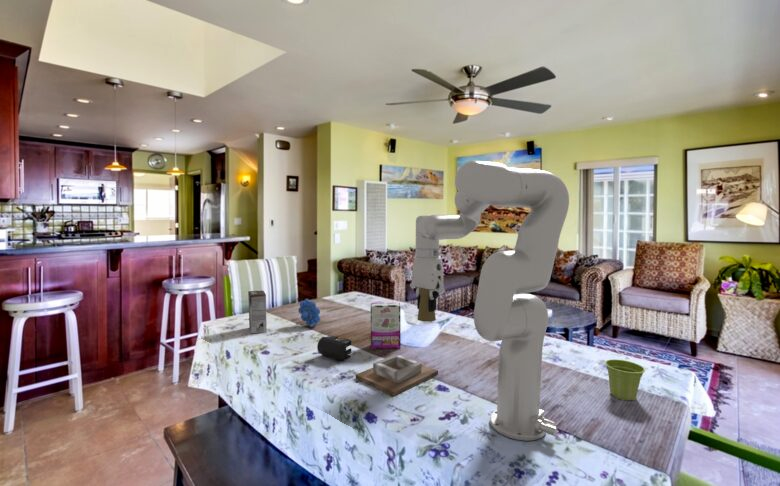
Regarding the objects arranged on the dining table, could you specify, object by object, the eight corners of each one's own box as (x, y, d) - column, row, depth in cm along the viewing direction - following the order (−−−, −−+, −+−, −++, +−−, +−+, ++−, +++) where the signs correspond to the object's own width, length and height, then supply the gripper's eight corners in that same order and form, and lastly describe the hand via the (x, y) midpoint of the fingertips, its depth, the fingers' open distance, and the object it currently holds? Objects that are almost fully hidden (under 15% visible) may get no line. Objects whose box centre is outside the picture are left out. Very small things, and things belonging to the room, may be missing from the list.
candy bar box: (399, 344, 147) (400, 302, 145) (400, 349, 142) (401, 305, 140) (370, 344, 146) (370, 302, 145) (370, 349, 141) (370, 305, 140)
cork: (434, 322, 121) (435, 287, 121) (415, 321, 123) (416, 287, 122) (436, 317, 127) (437, 284, 127) (418, 316, 129) (419, 283, 128)
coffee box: (248, 327, 166) (247, 291, 165) (264, 326, 169) (263, 289, 168) (250, 333, 158) (249, 295, 157) (267, 331, 161) (266, 294, 159)
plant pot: (607, 385, 113) (608, 356, 112) (645, 395, 107) (647, 364, 106) (600, 396, 106) (601, 366, 105) (640, 408, 100) (642, 375, 99)
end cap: (316, 357, 133) (316, 338, 132) (330, 351, 139) (330, 333, 138) (339, 364, 127) (339, 344, 127) (352, 357, 133) (352, 338, 133)
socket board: (437, 374, 119) (438, 361, 119) (393, 396, 105) (393, 381, 105) (400, 360, 131) (400, 348, 130) (355, 378, 116) (355, 364, 116)
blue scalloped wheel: (292, 326, 168) (292, 299, 167) (302, 322, 174) (302, 296, 173) (314, 330, 163) (314, 302, 162) (323, 326, 169) (323, 299, 168)
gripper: (455, 255, 120) (454, 312, 121) (415, 251, 132) (415, 303, 133) (440, 256, 115) (439, 316, 116) (400, 252, 127) (400, 307, 128)
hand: (426, 309), depth 125 cm, fingers closed on cork, 4 cm apart
